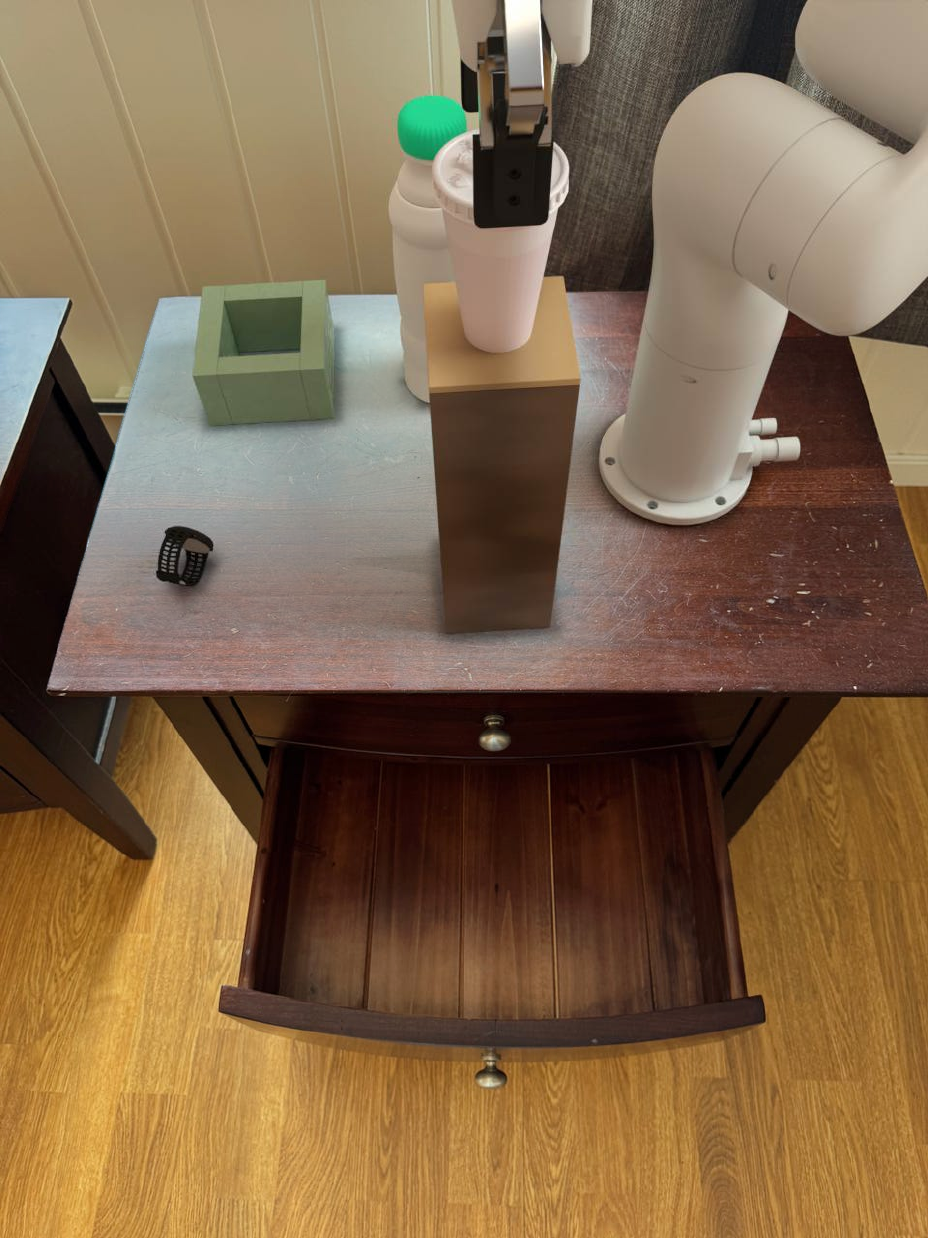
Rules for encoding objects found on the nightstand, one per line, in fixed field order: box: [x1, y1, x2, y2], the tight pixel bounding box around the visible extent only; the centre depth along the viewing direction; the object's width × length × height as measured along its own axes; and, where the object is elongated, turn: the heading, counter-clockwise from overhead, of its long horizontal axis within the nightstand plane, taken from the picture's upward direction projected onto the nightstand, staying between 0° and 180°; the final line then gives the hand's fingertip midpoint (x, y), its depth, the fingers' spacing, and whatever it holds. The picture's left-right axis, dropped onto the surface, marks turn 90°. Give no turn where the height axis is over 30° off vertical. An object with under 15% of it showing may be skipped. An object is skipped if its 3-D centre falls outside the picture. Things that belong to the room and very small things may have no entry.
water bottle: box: [387, 94, 468, 404], centre depth 75 cm, size 7×7×25 cm
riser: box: [423, 275, 582, 634], centre depth 63 cm, size 8×8×26 cm
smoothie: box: [431, 128, 570, 353], centre depth 46 cm, size 6×6×14 cm
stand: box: [192, 279, 335, 427], centre depth 83 cm, size 11×11×6 cm
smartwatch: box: [155, 525, 215, 588], centre depth 73 cm, size 4×5×5 cm
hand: (502, 160), depth 43 cm, fingers open, 7 cm apart
